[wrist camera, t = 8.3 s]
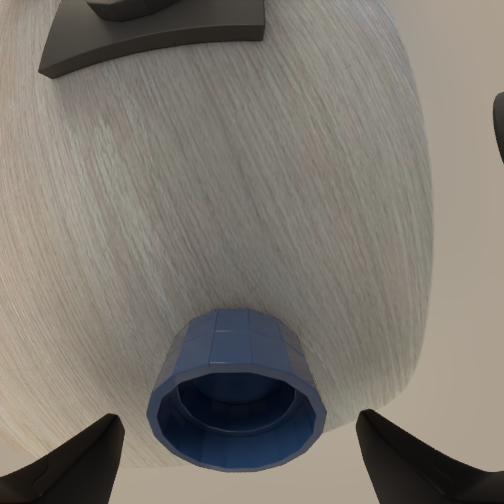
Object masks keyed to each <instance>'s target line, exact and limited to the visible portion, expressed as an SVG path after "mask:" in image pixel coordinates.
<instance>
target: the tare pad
mask: <svg viewBox="0 0 504 504" xmlns="http://www.w3.org/2000/svg"><path fill="white" fill-rule="evenodd" d="M264 30H265V11H264V0H61V3H60V5H59V8H58V10H57V13H56V15H55V18H54V20H53V23H52V26H51V29H50V32H49V35H48V38H47V41H46V44H45V47H44V51H43V54H42V58H41V62H40V66H39V70H38V72H39V73H41V74H43V75H45V76H47V77H49V78H51V79H54V78H56V77H58V76H61V75H64V74H66V73H69V72H71V71H74V70H77V69H80V68H83V67H86V66H89V65H92V64H95V63H98V62H102V61H105V60H108V59H112V58H116V57H120V56H124V55H128V54H132V53H137V52H141V51H146V50H151V49H157V48H162V47H169V46H175V45H183V44H191V43H201V42H214V41H235V40H263V36H264Z"/></svg>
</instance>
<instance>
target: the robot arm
mask: <svg viewBox="0 0 504 504" xmlns="http://www.w3.org/2000/svg"><path fill="white" fill-rule="evenodd" d="M356 432H357V436H358V440H359V444H360V448H361V452H362V456H363V460H364V463H365V466H366V468H367V471H368V474H369V476H370V479H371V482H372V484H373V487H374V490H375V492H376V495H377V498H378V500H379V503H380V504H504V471H499V472H486V471H483V470H480V469H477V468H474V467H472V466H469V465H467V464H464V463H462V462H459V461H457V460H455V459H452V458H450V457H449V456H447V455H444V454H443V453H441V452H439V451H438V450H435V449H434V448H432V447H431V446H429V445H427V444H426V443H424V442H422V441H421V440H419V439H417V438H416V437H414V436H413V435H411V434H409V433H408V432H406V431H405V430H403V429H401V428H400V427H398V426H397V425H395V424H394V423H392V422H390V421H389V420H387V419H386V418H384V417H383V416H381V415H380V414H378V413H377V412H375V411H374V410H372V409H367V410H362V411H361V412H360V413H359V416H358V420H357V423H356ZM124 435H125V429H124V426H123V424H122V422H121V420H120V418H119V416H118V415H116V414H111V413H108V414H106V415H105V416H103V417H102V418H100V419H99V420H98V421H96V422H95V423H93V424H92V425H90V426H89V427H87V428H86V429H85V430H83V431H82V432H80V433H79V434H77V435H76V436H74V437H73V438H71V439H70V440H68V441H67V442H65V443H64V444H62V445H61V446H59V447H58V448H56V449H55V450H53V451H52V452H50V453H48V455H45V456H44V457H42V458H40V459H39V460H37V461H35V462H34V463H32V464H30V465H28V466H26V467H24V468H21V469H19V470H17V471H15V472H12V473H10V474H8V475H5V476H2V477H0V504H108V502H109V498H110V495H111V491H112V487H113V484H114V481H115V477H116V474H117V470H118V467H119V463H120V458H121V452H122V446H123V440H124Z"/></svg>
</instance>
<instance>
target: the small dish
mask: <svg viewBox="0 0 504 504" xmlns="http://www.w3.org/2000/svg"><path fill="white" fill-rule="evenodd" d="M146 414H147V418H148V421H149V423H150V426H151V429H152V431H153V434H154V436H155V437H156V438H157V439H158V440H159V441H160V442H161V443H162V444H163V445H164V446H165V447H166V448H167V449H168V450H169V451H170V452H171V453H173V454H174V455H176V456H178V457H180V458H182V459H184V460H186V461H188V462H190V463H192V464H194V465H196V466H199V467H203V468H207V469H212V470H216V471H221V472H257V471H262V470H266V469H269V468H273V467H277V466H281V465H284V464H286V463H287V462H289V461H291V460H293V459H295V458H297V457H298V456H300V455H302V454H303V453H305V452H306V451H308V449H309V448H310V447H311V446H312V445H313V444H314V443H315V441H316V440H317V439H318V438H319V437H320V436H321V434H322V432H323V427H324V423H325V419H326V414H327V411H326V408H325V405H324V403H323V400H322V397H321V395H320V392H319V389H318V387H317V384H316V381H315V379H314V376H313V374H312V371H311V368H310V366H309V363H308V360H307V358H306V355H305V353H304V350H303V348H302V346H301V344H300V341H299V339H298V337H297V335H296V334H295V333H294V332H293V331H291V330H290V329H289V328H288V327H287V326H286V325H284V324H283V323H282V322H281V321H280V320H279V319H276V318H275V317H272V316H269V315H266V314H263V313H260V312H257V311H254V310H251V309H249V310H248V309H220V310H215V311H213V312H210V313H208V314H205V315H202V316H200V317H197V318H195V319H193V320H192V321H190V322H189V323H188V324H187V325H186V326H185V327H184V328H183V329H182V330H181V331H180V332H179V333H178V334H177V335H176V336H175V338H174V340H173V342H172V345H171V347H170V349H169V352H168V354H167V356H166V359H165V361H164V363H163V366H162V368H161V371H160V373H159V375H158V378H157V380H156V383H155V385H154V388H153V390H152V393H151V396H150V400H149V405H148V409H147V413H146Z"/></svg>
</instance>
